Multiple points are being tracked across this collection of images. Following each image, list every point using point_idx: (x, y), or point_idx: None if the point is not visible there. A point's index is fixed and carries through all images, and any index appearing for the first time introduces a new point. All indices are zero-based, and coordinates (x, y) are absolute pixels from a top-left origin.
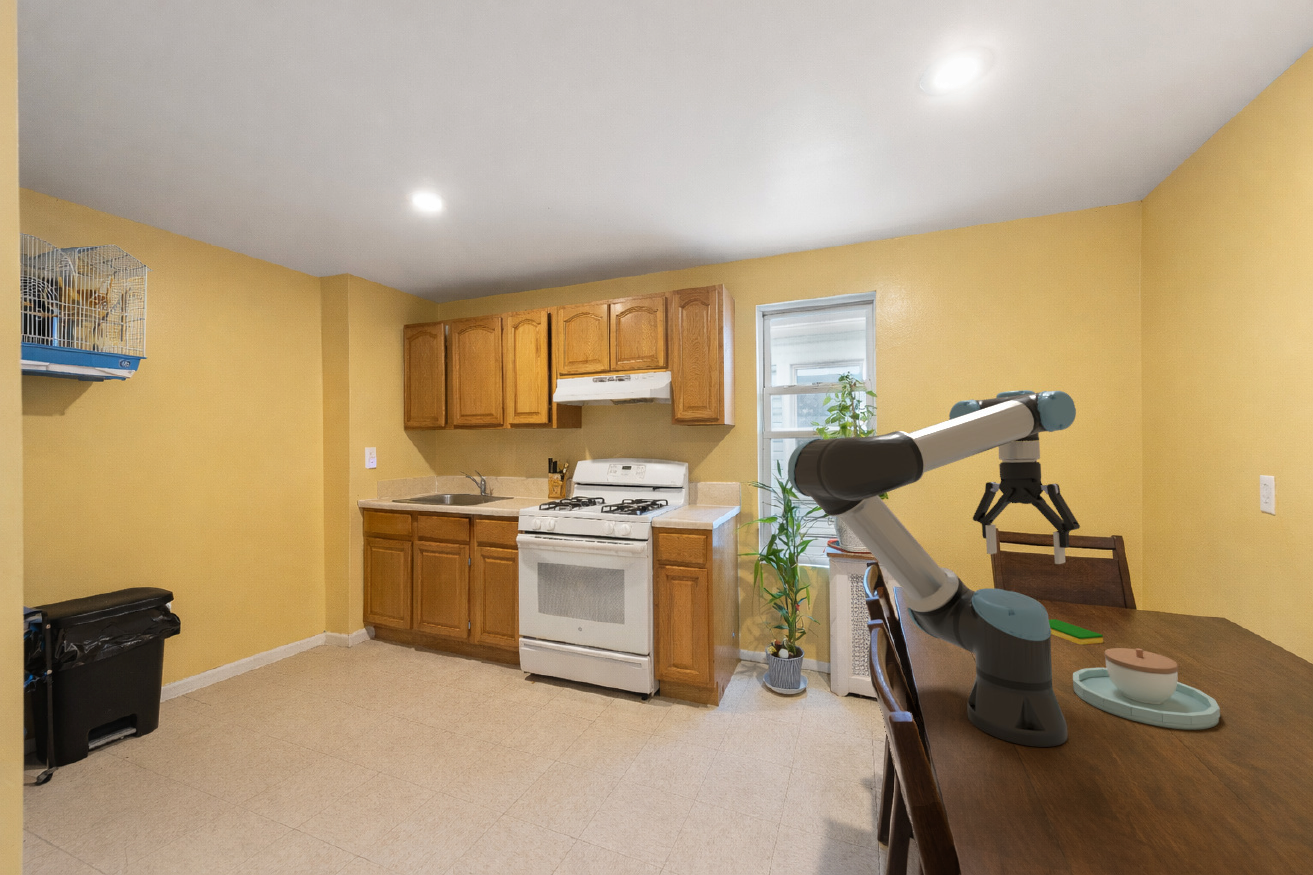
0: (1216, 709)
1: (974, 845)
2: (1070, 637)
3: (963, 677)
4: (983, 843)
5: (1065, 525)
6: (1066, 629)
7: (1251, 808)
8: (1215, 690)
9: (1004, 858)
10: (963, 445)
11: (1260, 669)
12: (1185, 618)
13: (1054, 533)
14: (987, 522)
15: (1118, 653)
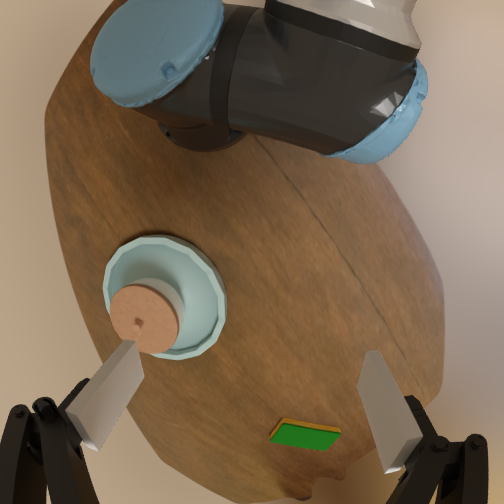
0: (106, 303)
1: None
2: (295, 423)
3: (327, 186)
4: None
5: (36, 430)
6: (304, 433)
7: (60, 149)
8: (152, 379)
9: None
10: None
11: (165, 441)
12: (252, 500)
13: (77, 410)
14: (419, 454)
15: (158, 316)
